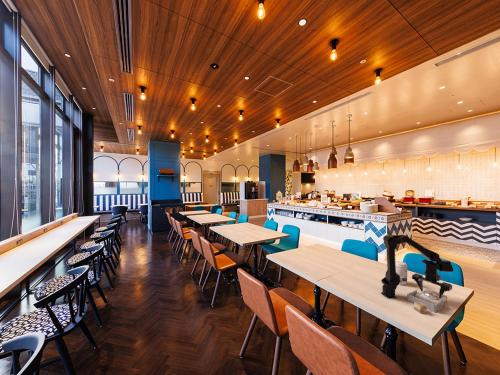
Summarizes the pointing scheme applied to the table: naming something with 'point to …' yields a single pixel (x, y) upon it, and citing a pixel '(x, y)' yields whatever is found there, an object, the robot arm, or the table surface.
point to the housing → (425, 302)
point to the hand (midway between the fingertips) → (430, 294)
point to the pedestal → (420, 307)
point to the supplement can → (401, 272)
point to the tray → (421, 295)
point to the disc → (431, 295)
